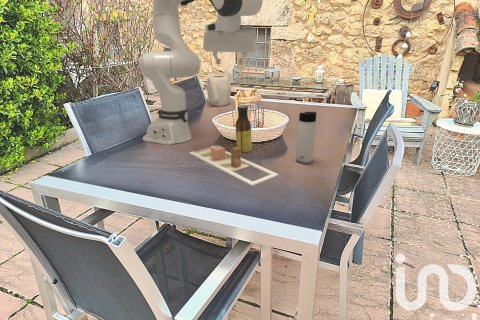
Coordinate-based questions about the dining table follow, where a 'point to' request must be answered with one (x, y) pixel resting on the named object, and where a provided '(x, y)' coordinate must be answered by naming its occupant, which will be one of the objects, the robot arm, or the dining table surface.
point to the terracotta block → (217, 152)
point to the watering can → (219, 90)
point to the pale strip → (227, 162)
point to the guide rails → (272, 174)
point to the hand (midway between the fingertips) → (229, 64)
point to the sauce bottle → (243, 130)
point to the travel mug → (306, 137)
